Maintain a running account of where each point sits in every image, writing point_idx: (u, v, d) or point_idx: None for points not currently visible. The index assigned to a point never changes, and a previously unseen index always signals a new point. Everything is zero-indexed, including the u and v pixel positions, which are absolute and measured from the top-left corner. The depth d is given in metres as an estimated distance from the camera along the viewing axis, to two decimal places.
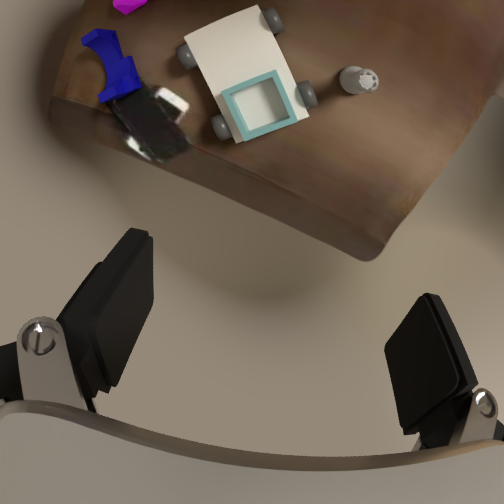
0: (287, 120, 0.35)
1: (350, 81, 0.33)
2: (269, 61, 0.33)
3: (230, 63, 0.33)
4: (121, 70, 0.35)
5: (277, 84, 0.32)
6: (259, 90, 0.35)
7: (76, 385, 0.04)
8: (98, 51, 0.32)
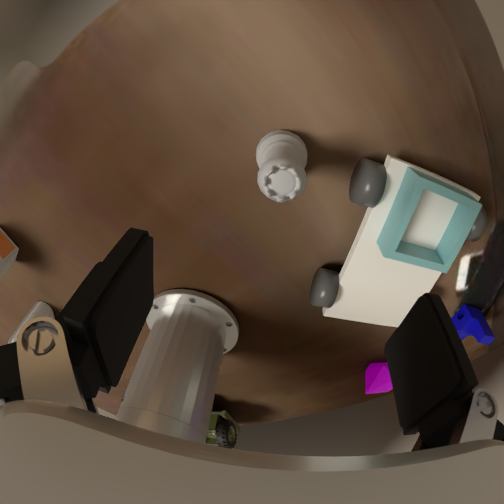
0: (428, 188, 0.19)
1: None
2: (372, 255, 0.26)
3: (405, 279, 0.27)
4: None
5: (398, 239, 0.22)
6: (412, 232, 0.24)
7: (76, 385, 0.04)
8: None
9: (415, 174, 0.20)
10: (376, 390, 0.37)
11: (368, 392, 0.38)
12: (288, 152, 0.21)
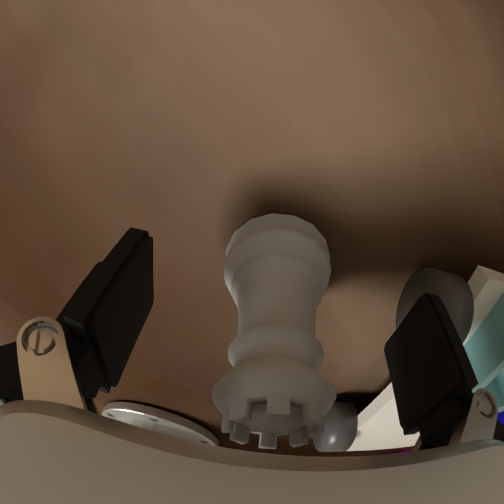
0: None
1: None
2: None
3: None
4: None
5: None
6: None
7: (76, 385, 0.04)
8: None
9: None
10: None
11: None
12: (292, 297, 0.09)
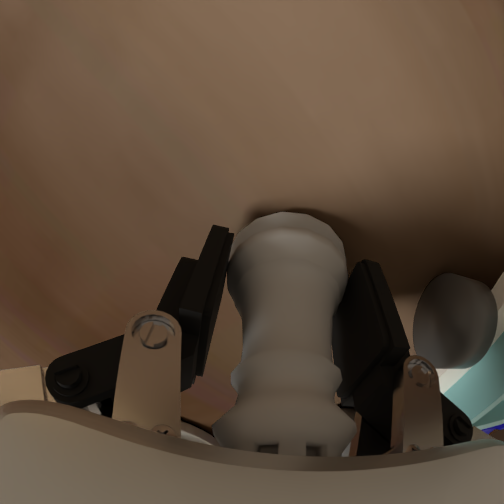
0: None
1: None
2: None
3: None
4: None
5: (479, 417, 0.09)
6: None
7: (179, 389, 0.05)
8: None
9: None
10: None
11: None
12: (307, 313, 0.07)
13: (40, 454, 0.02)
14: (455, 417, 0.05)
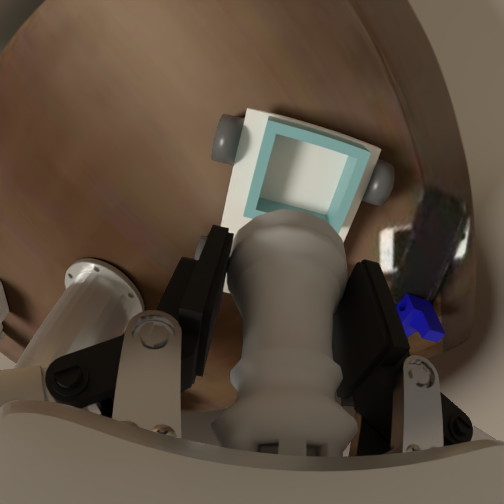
0: (283, 133, 0.19)
1: None
2: (246, 219, 0.25)
3: None
4: None
5: (256, 194, 0.21)
6: (289, 192, 0.24)
7: (179, 389, 0.05)
8: None
9: (267, 120, 0.19)
10: None
11: None
12: (307, 311, 0.07)
13: (40, 454, 0.02)
14: (455, 417, 0.05)
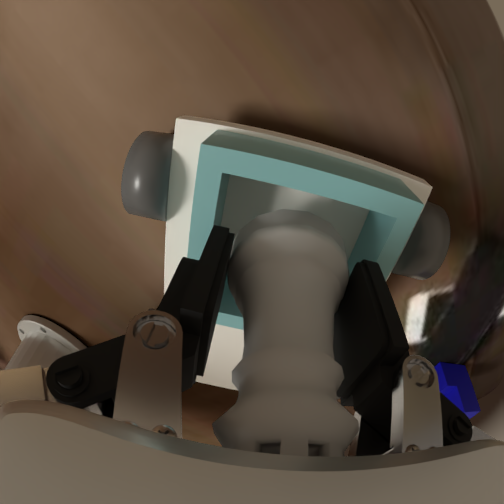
0: (237, 170, 0.09)
1: None
2: None
3: None
4: None
5: None
6: None
7: (180, 389, 0.05)
8: None
9: None
10: None
11: None
12: (309, 310, 0.07)
13: (40, 454, 0.02)
14: (454, 416, 0.05)
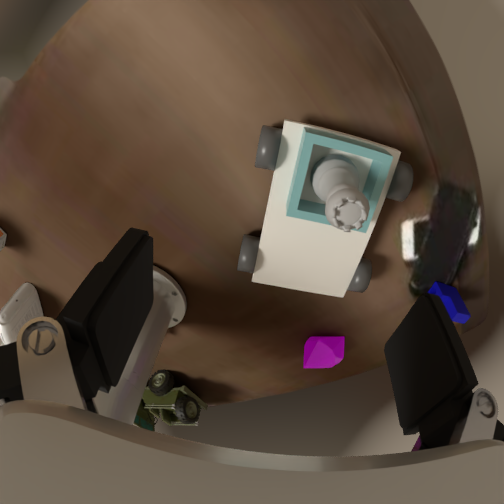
0: (319, 143, 0.21)
1: None
2: (286, 217, 0.28)
3: (328, 242, 0.29)
4: None
5: (297, 196, 0.24)
6: None
7: (76, 385, 0.04)
8: None
9: (305, 131, 0.22)
10: (314, 364, 0.39)
11: (306, 366, 0.40)
12: (347, 180, 0.21)
13: (40, 454, 0.02)
14: None
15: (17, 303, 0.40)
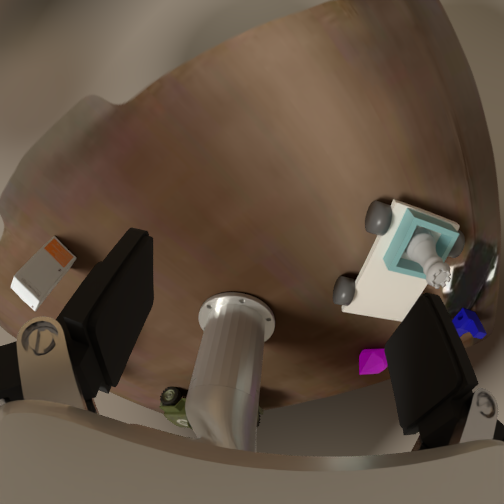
0: (420, 224, 0.29)
1: None
2: (380, 268, 0.36)
3: (402, 284, 0.37)
4: (458, 330, 0.44)
5: (398, 258, 0.32)
6: None
7: (76, 385, 0.04)
8: None
9: (412, 215, 0.30)
10: (368, 371, 0.47)
11: (361, 373, 0.48)
12: (434, 251, 0.29)
13: (40, 454, 0.02)
14: None
15: None
